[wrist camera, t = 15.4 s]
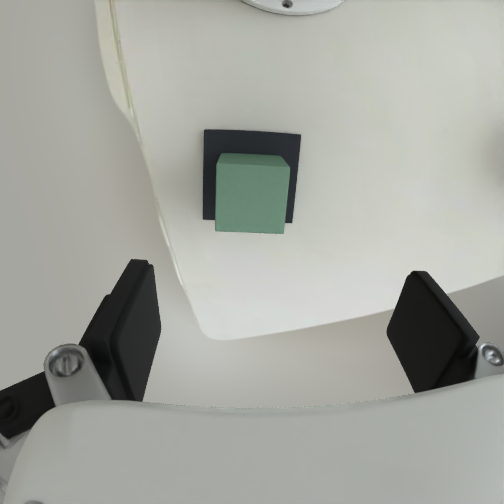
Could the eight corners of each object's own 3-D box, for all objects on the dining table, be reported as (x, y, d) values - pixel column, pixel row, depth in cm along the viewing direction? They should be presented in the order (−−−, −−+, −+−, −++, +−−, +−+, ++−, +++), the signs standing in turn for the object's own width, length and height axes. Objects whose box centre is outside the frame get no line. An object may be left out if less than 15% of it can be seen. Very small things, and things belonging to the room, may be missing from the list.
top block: (221, 152, 24) (216, 163, 20) (281, 155, 24) (290, 167, 20) (219, 208, 26) (215, 231, 22) (276, 211, 27) (283, 234, 22)
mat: (204, 129, 23) (204, 129, 23) (300, 134, 24) (301, 135, 24) (203, 218, 27) (202, 219, 27) (291, 222, 28) (292, 223, 27)
